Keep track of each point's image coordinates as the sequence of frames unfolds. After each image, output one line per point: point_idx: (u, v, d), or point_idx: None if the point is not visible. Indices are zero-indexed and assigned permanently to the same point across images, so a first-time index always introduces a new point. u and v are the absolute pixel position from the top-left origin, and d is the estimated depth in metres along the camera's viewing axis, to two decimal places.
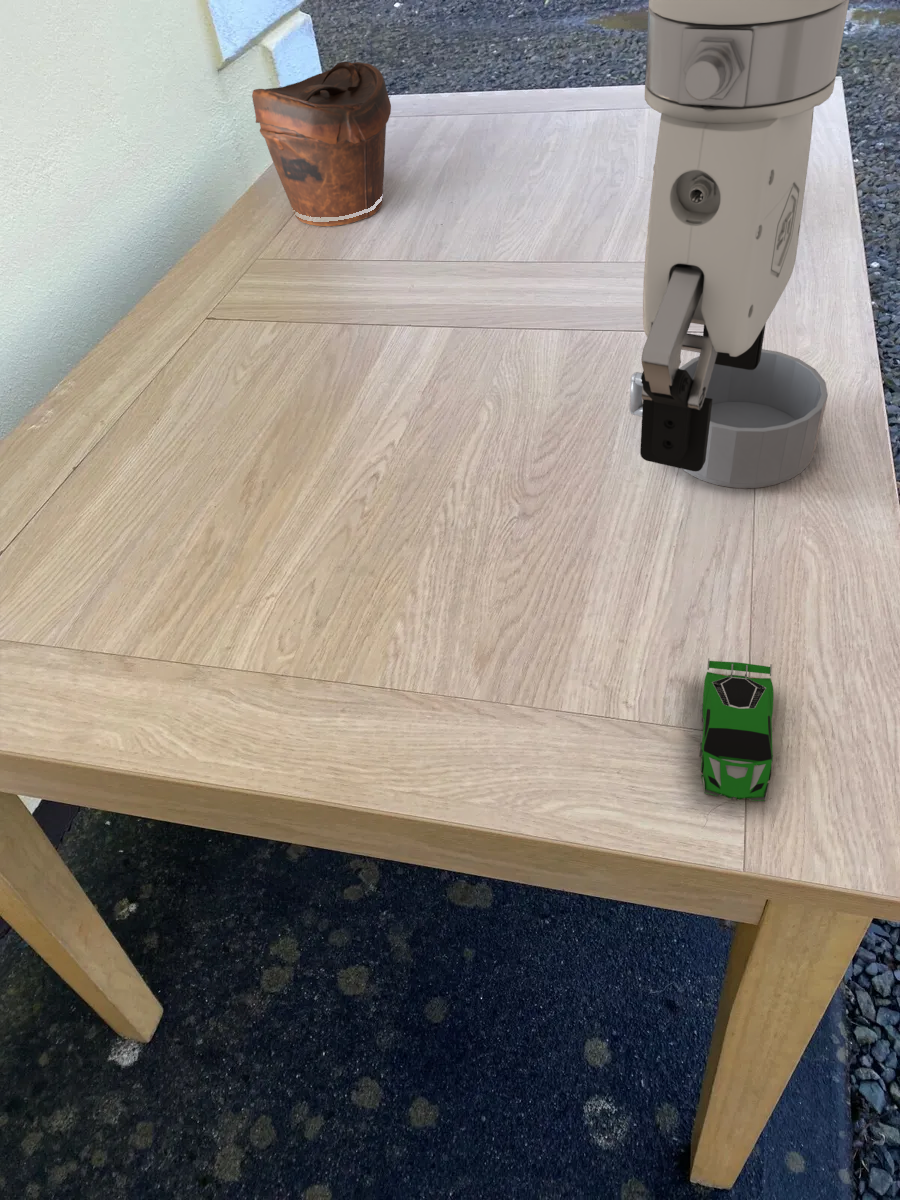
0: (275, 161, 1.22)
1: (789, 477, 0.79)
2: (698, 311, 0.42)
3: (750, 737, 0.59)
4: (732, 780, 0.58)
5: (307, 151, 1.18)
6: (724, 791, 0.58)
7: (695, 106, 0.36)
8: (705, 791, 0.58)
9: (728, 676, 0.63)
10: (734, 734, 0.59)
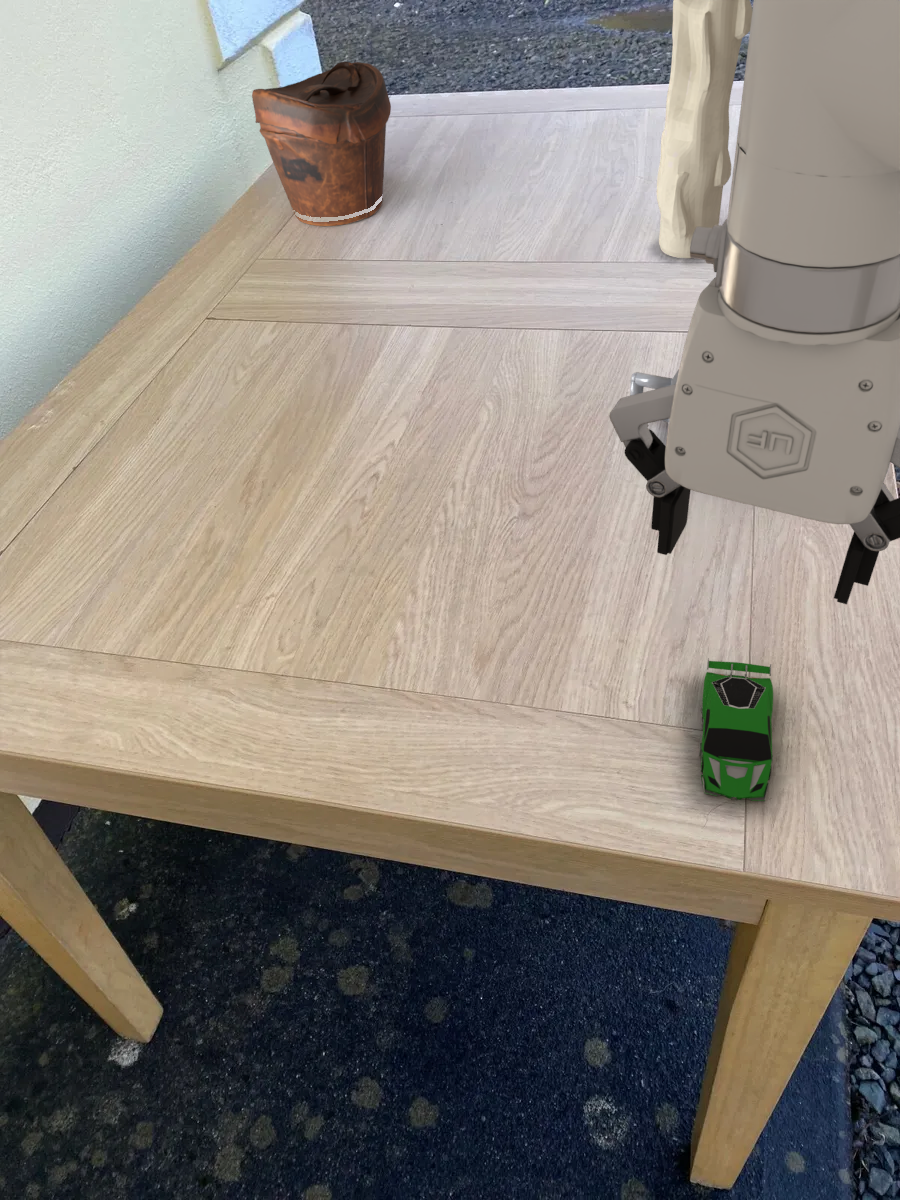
0: (275, 161, 1.22)
1: None
2: None
3: (750, 737, 0.59)
4: (732, 780, 0.58)
5: (307, 151, 1.18)
6: (724, 791, 0.58)
7: None
8: (705, 791, 0.58)
9: (728, 676, 0.63)
10: (734, 734, 0.59)
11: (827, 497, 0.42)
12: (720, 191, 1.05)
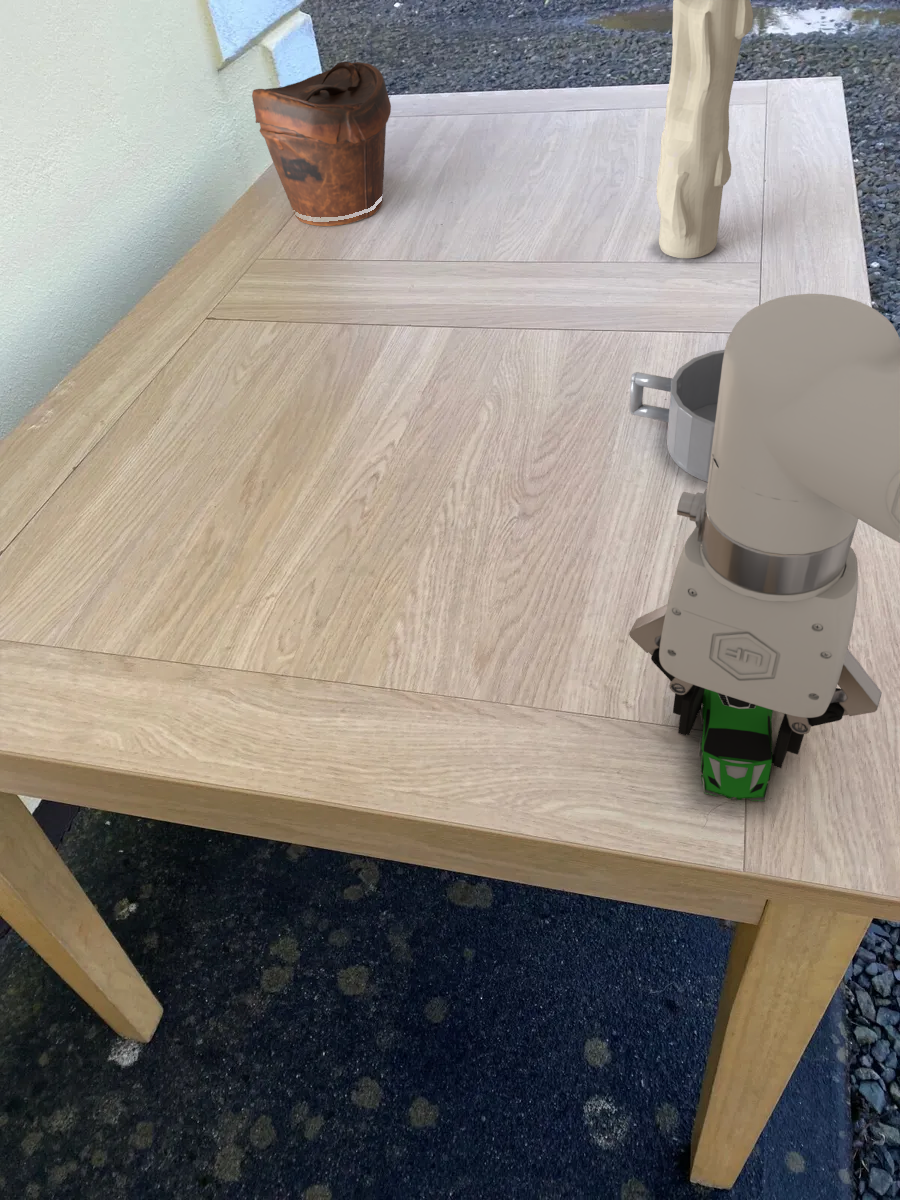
0: (275, 161, 1.22)
1: None
2: None
3: (750, 737, 0.59)
4: (732, 780, 0.58)
5: (307, 151, 1.18)
6: (724, 791, 0.58)
7: None
8: (705, 791, 0.58)
9: None
10: (734, 734, 0.59)
11: (791, 698, 0.52)
12: (720, 191, 1.05)
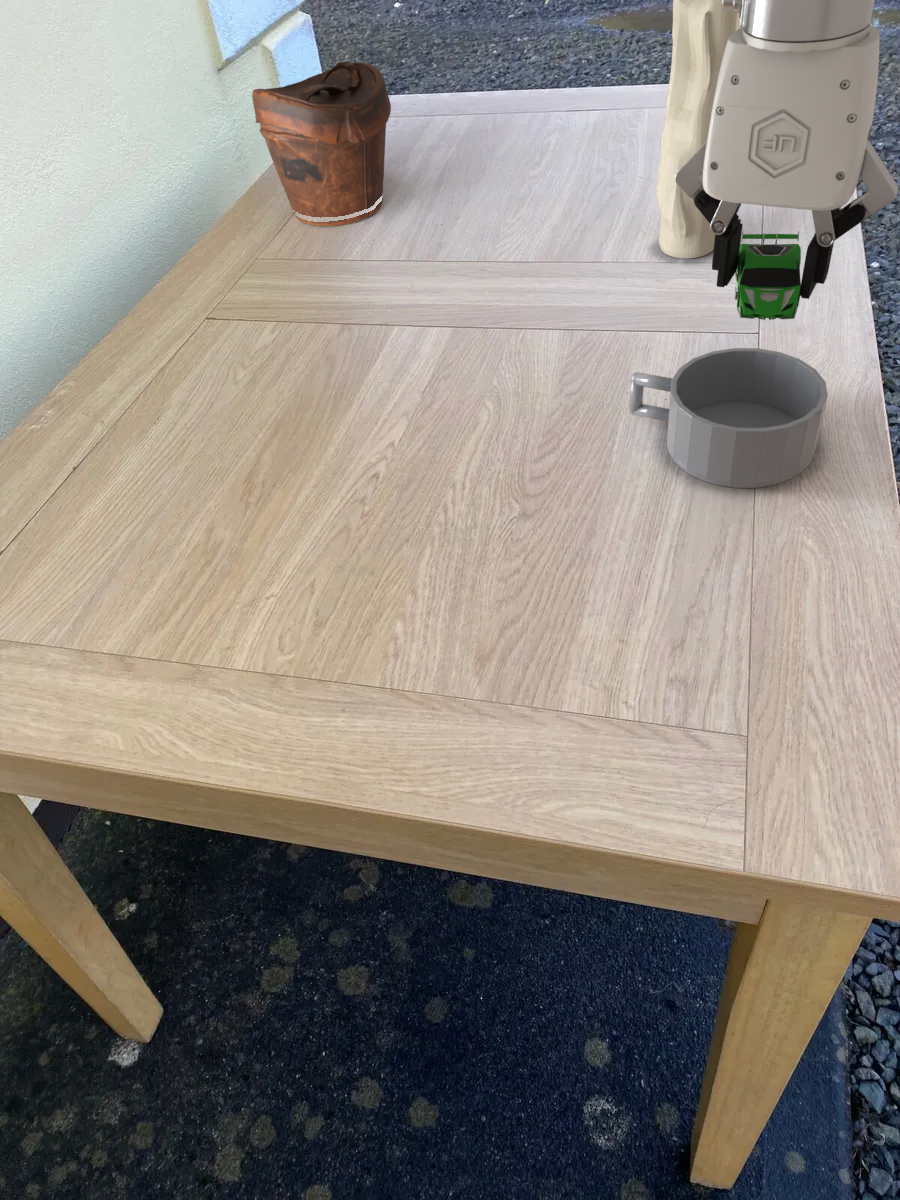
0: (275, 161, 1.22)
1: (789, 477, 0.79)
2: None
3: (781, 271, 0.67)
4: (765, 303, 0.66)
5: (307, 151, 1.18)
6: (758, 312, 0.66)
7: None
8: (741, 316, 0.66)
9: (760, 244, 0.71)
10: (767, 270, 0.67)
11: (820, 185, 0.60)
12: None
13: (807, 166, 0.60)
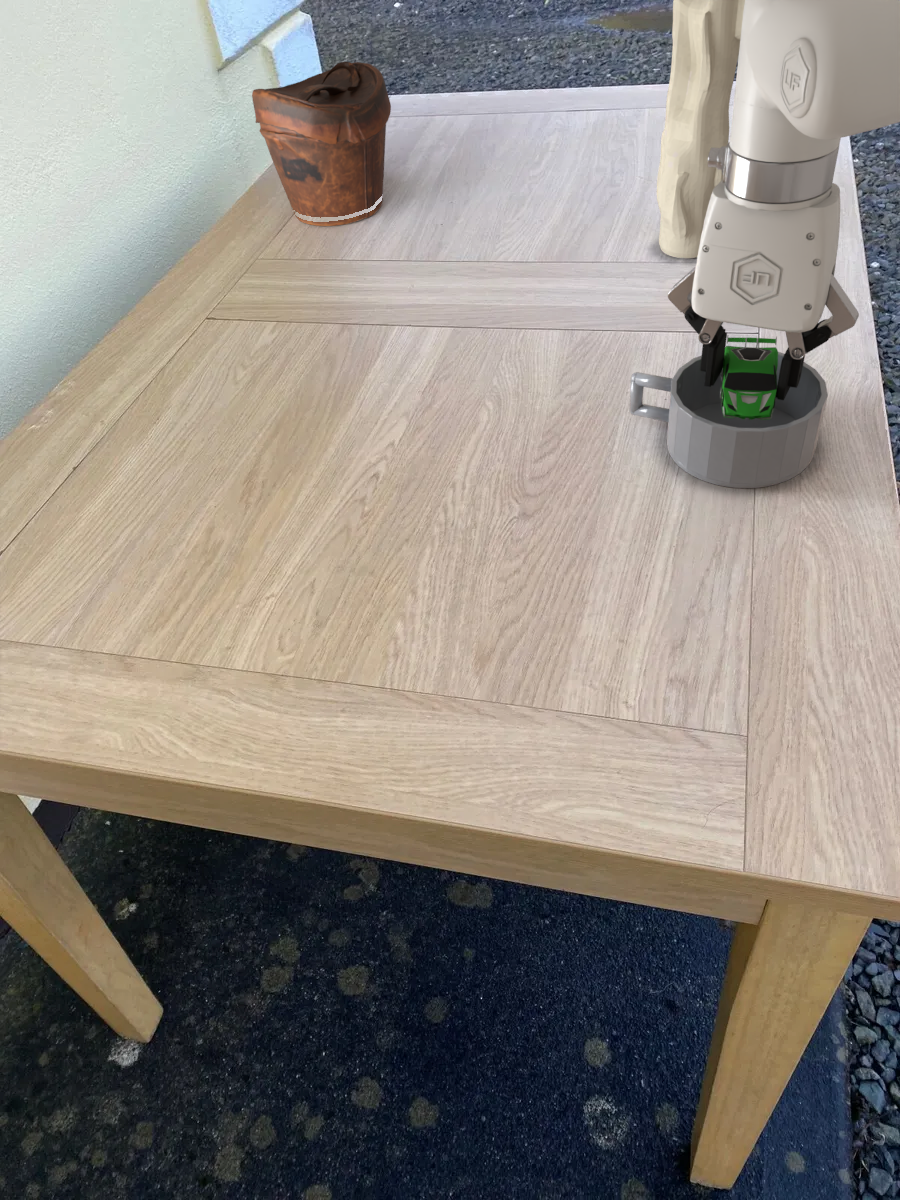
0: (275, 161, 1.22)
1: (789, 477, 0.79)
2: None
3: (760, 376, 0.77)
4: (745, 405, 0.76)
5: (307, 151, 1.18)
6: (739, 413, 0.76)
7: None
8: (725, 415, 0.76)
9: (743, 347, 0.81)
10: (747, 375, 0.77)
11: (791, 313, 0.70)
12: None
13: (780, 297, 0.70)
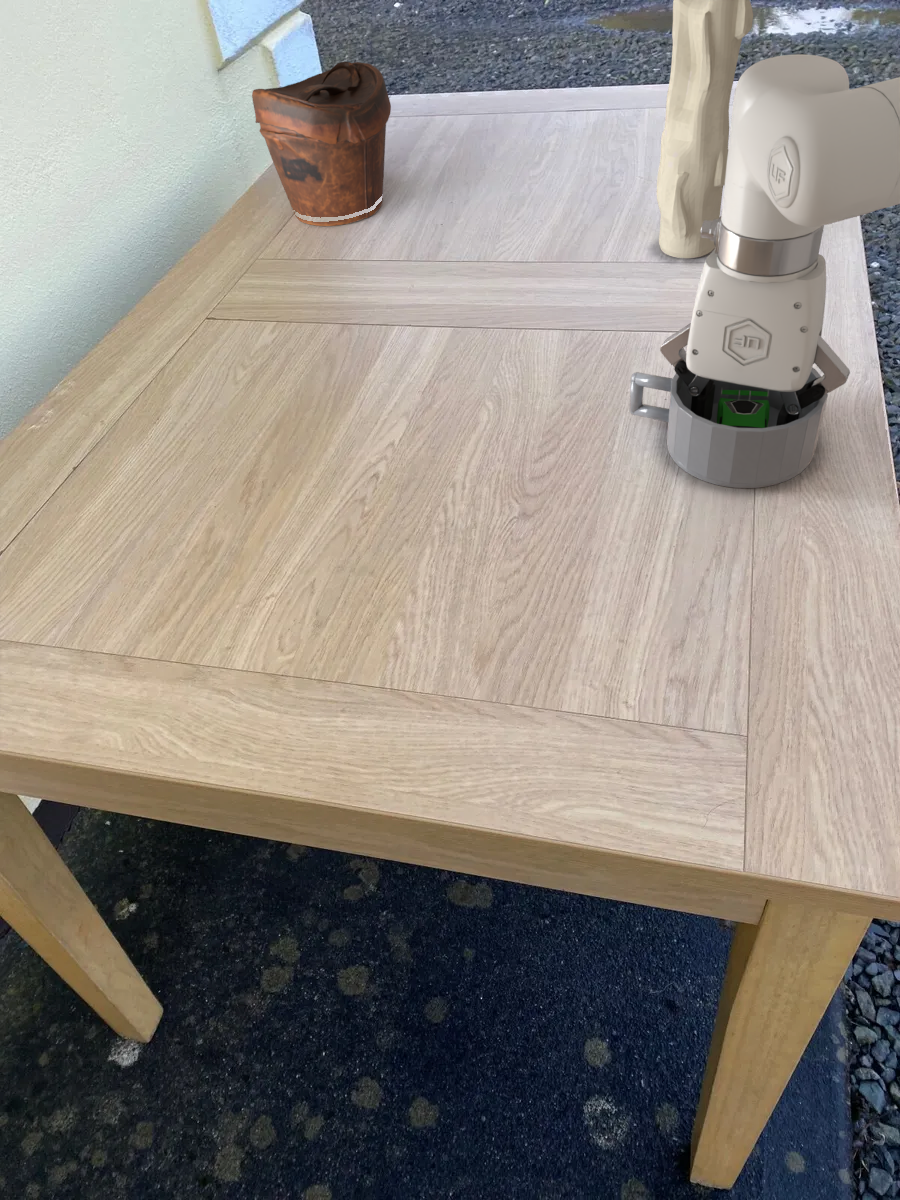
0: (275, 161, 1.22)
1: (789, 477, 0.79)
2: None
3: None
4: None
5: (307, 151, 1.18)
6: None
7: None
8: None
9: (736, 399, 0.85)
10: None
11: (780, 374, 0.74)
12: (720, 191, 1.05)
13: (769, 360, 0.74)
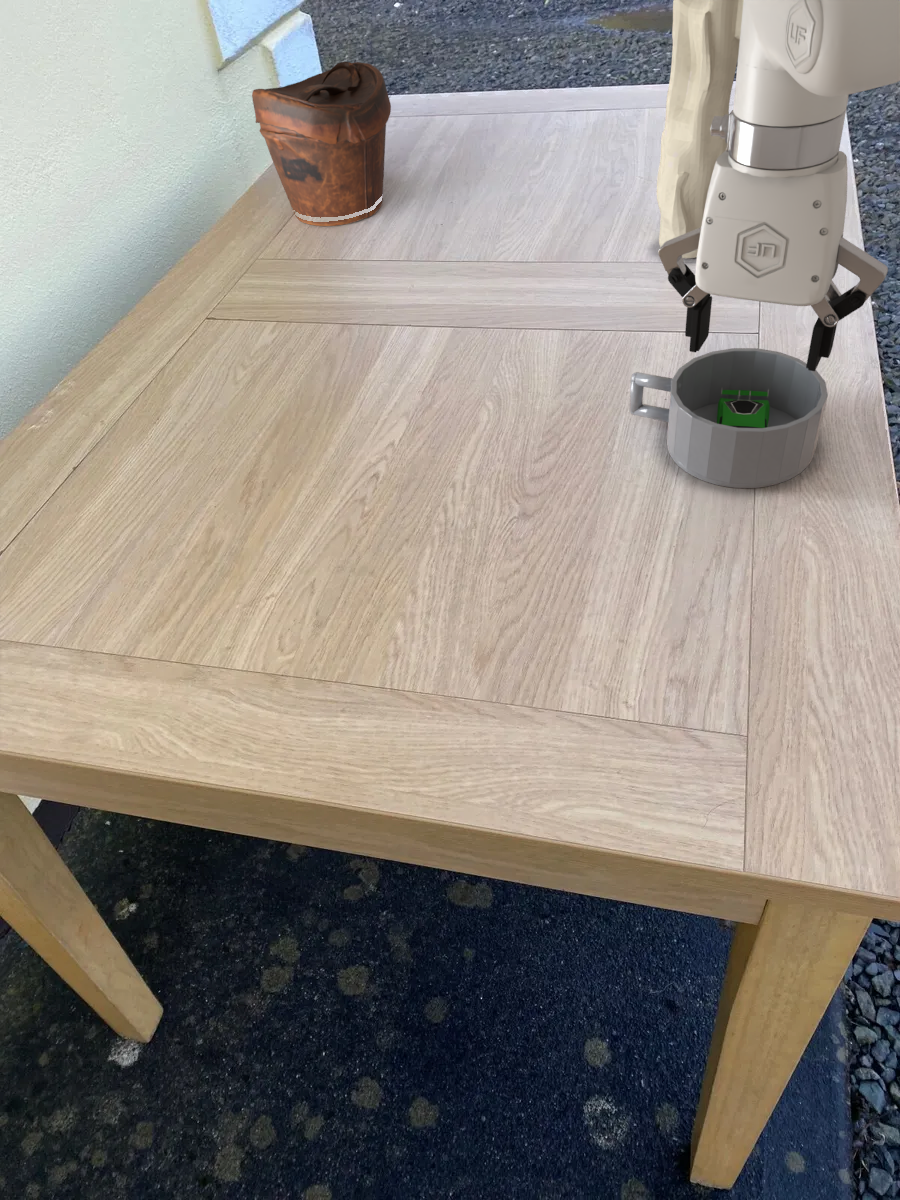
0: (275, 161, 1.22)
1: (789, 477, 0.79)
2: None
3: None
4: None
5: (307, 151, 1.18)
6: None
7: None
8: None
9: (736, 399, 0.85)
10: None
11: (798, 285, 0.68)
12: None
13: (786, 269, 0.68)
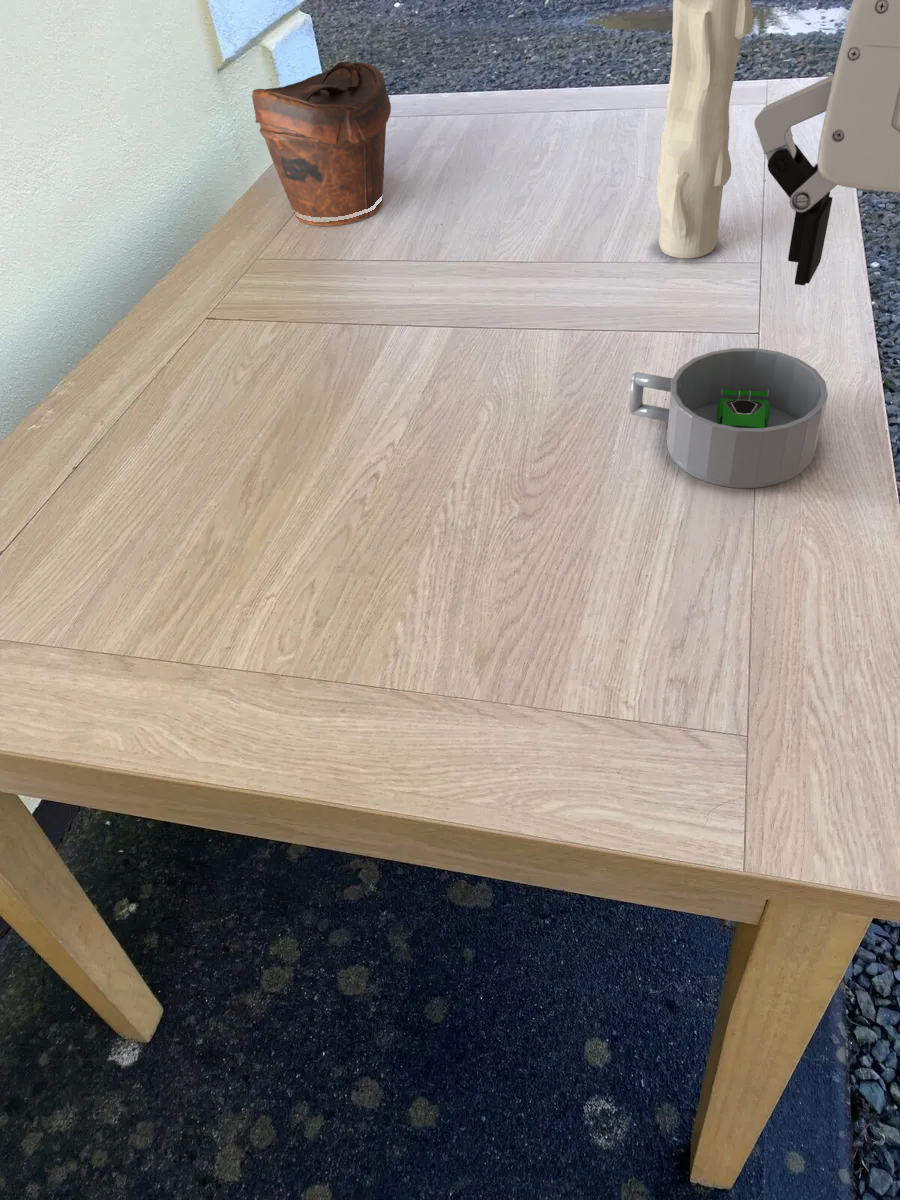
0: (275, 161, 1.22)
1: (789, 477, 0.79)
2: None
3: None
4: None
5: (307, 151, 1.18)
6: None
7: None
8: None
9: (736, 399, 0.85)
10: None
11: None
12: (720, 191, 1.05)
13: None
